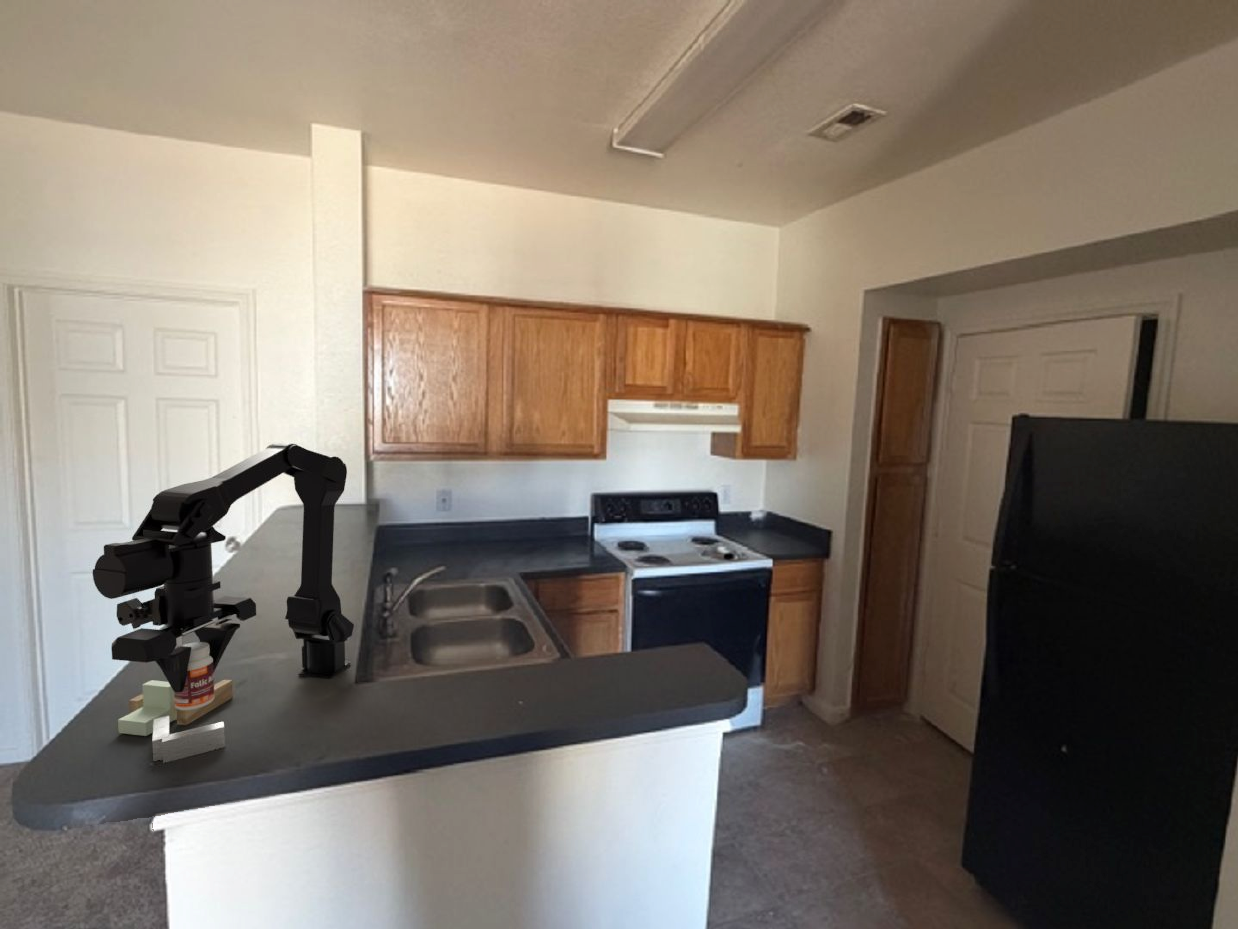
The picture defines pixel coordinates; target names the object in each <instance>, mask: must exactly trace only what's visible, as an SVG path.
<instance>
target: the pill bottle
mask: <svg viewBox="0 0 1238 929" xmlns="http://www.w3.org/2000/svg"><path fill="white" fill-rule="evenodd" d="M183 646H186V647H191V653H190V659H189V664H188V670H187V676H186V681H185V685H184V688H183V691H182V692H180V693H178V692H174V702H175V707H176V708H177V709H179V710H192V709H197V708H200V707H203V706H205V705H208V704H209V703H211V702H212V701H213V700H214V685H215V681H214V680H215V677H214V676H215V675H214V673H215V671H214V672H213V658H212V657H211V656H210V655H209V654H210V647H209V644H208V643H206V642H200V641H196V642H189V643H184V644H183Z"/></svg>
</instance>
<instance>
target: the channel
mask: <svg viewBox="0 0 1238 929" xmlns="http://www.w3.org/2000/svg"><path fill="white" fill-rule="evenodd" d="M166 682H168V680H167V681H166ZM233 691H234V690H233V680H232V679H223V680H222V679H221V680H220V681H219V682H217V683H214V700H213V701H212V702H211V703H209V704H208V705H205V706H203V707H200V708H197V709H192V710H179V709H177V719H176V720H177V725H180V726H182V725H183V726H187V725H189V724H190V723H192V722H194V721H195V720H197V719H199V718H201V717H203V716H205V715H206V714H207V713H209V712H212V710H215V709H216V708H218V707H219V706H221V705H223V704H225V703H227V702H228V701H229V700H232V699H233V697H234V696H233V694H234V693H233ZM128 705H129V714H130V713H132V712H134V711H136V710H138V709H140V708H142V707H143V693H141V694H139V695H136V696H135V697H133V698H131V699H129V700H128Z"/></svg>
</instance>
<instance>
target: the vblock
mask: <svg viewBox="0 0 1238 929" xmlns="http://www.w3.org/2000/svg"><path fill="white" fill-rule="evenodd" d="M170 723H171V722H170V719H169V716H166V717H161V718H157V719H154V724H153V732H152V738H151V739H152V740H151V741H152V760H153V761H156V760H160V761H162V763H163V764H166V763H170V762H174V761H177V760H181V759H185V758H188V757H191V756H197V755H200V754H203V753H208V752H211V751H215V749H216V750H219V748H220V749H223V748H225V747H226V741H225V740H226V739H225V736H226V735H225V723H224V721H221V722H220V721H219V722H216V723H212V724H207V725H204V726H203V725H202V726H199V727H195V728H190V729H186V730H182V731H179V732H175V733H174V732H172V733H171V727H170V726H171V724H170ZM153 761H152V762H153ZM156 762H157V761H156ZM165 762H166V763H165Z"/></svg>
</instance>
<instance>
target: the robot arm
mask: <svg viewBox="0 0 1238 929" xmlns="http://www.w3.org/2000/svg"><path fill="white" fill-rule="evenodd" d="M347 469H348V468H347V464H346V463H345V462H343V460H342V458H340V457H338V456H332V455H325V454H321V453H318V452H315V451H313V450H309V449H307V448H305V447H302V446H300V445H298V444H297V443H287V442H286V443H283V442H282V443H281V442H275V443H272V444H269V445H268V446H267V447H266V448H265V449H263V450H261V451H259V452H257V453H255V454H254V455H252V456H250V457H248V458H246V459H244V460H242V461H240V462H238V463H236V464H234V465H233V466H231V467H229V468H227V469H225V470H223V471H221V472H219V473H218V474H215V475H214V476H212V477H209V478H206V479H203V480H198V481H193V482H186V483H183V484H179V485H177V486H174V487H171V488H167V489H164V490H162V491H161V492H159V493H157V494H156V495H155V496H154V497H153V499H152V504H151V506H150V510H148V512H147V514H146V515H145V517H144V519H143V521H142V522H141V523H140V525H139V526H138V528H137V530H136V531H135V532H134V534H133V535H132V537H131V541H126V542H111V543H108V544H104V545H103V554H102V555H100V556H99V558H98V559H97V560H96V562H95V566H94V569H92V579H93V583H94V585H95V587H96V589H97V591H98V592H99V593H100V594H101V596H103V597H105V598H107V599H108V600H110V599H111V600H113V599H119V598H122V597H125V596H128V595H132V594H136V593H139V592H144V591H146V590H151V589H155V591H154V598H153V599H149V600H146V601H143V602H141V600H140V599H138V598H137V597H134V598H131V599H128V600H125V601H123V602H120V603H119V602H118V603H117V604H116V618H117V621H118V623H119V625H120V626H123V627H124V626H128V625H131V627H132V629H133V631H130V632H128V633H126V634H122V635H121V636H118V637H116V638H115V639H114V640H113V642H112V643H111V646H110V647H111V660H113V661H124V662H125V661H127V662H136V663H151V662H155V663H156V664H157V666H158V667H159V668H160V670H161V671H162V674H163V675H164V677H165V679H166V680H167V681H168V682H169V684H170V686H171V687H172V689H173V691H174V692H178V693H180V692H182V691H183V688H184V685H185V681H186V676H187V670H188V664H189V659H190V653H191V647H186V646H183V645H184V644H183V642H184V641H183V638H184V637H185V636H186V635H189V634H191V633H194V634H195V636H196V637H197V638H198V640H199V642H206V643H208V644H209V647H210V654H209V655H210V656H211V657H212V658H213V672H214V673H215V671H216V668H217V667H218V665H219V663H220V661H221V659H222V657H223V655H224V653H225V650H226V649H227V647H228V646H229V643H230V642H231V640H232V638H233V636H234V635H235V632H237V630H238V629H240V628H241V623H234V622H233V619H232V617H231V616H234V615H235V617H236V619H238V620H239V621H241V622H245V621H246V620H248V619H251V618H254V617H255V616H257V603H255V601H254V600H253V599H252V597H242V596H241V597H240V596H229V595H225V596H222V597H220V598H217V599H214V595H215V593H214V592H215V591H217V590H219V589H221V581H220V580H214V575H213V572H214V571H213V555H212V554H213V553H212V544H215V543H219V542H223V541H226V539H227V537H226V535H224V534H223V533H221V532H219V531H217V530H216V529H215V527H214V526H215V525H216V524H217V523H218V522H219V521H221V520H222V519H223V518H224V517H225V516H226V515H228V513H229V510H230V508H231V507H232V505H233V504H234V503H235V502H237V501H238V500H239V499H242V498H243V497H244V496H246V495H248V494H249V493H251V492H253V491H255V490H256V489H258V488H260V487H261V486H263V485H265V484H267V483H268V482H270V481H272V480H273V479H275V478H277V477H278V476H280V475H282V474H285V475H286V476H289V477H292V478H293V484H294V490H295V492H296V494H297V496H298V498H299V500H300V501H301V503H302V505H303V515H302V516H303V518H302V519H303V521H302V546H301V571H300V572H301V576H300V577H301V578H300V586H299V587H298V589H297V591H296V592H295V594H294V595H290V596H287V598H286V615H285V617H284V618H285V620H287V623H288V628H290V629H291V630H292V631H293V632H292V633H293V635H294V637H295V638H296V640H302V642H303V644H302V646H301V666H302V669H301V670H300V671H298V672H297V673H298V674H297V675H298V676H302V677H314V678H323V679H326V678H327V679H330V678H331V679H332V678H333V677H335V675H337V674H338V673H340V672H341V671H343V670H344V669H346V668H347V667H349V666H350V665H351V661H350V660H346V641H348V638H351V637H352V635H353V631H354V626H355V625H354V623H353V622H351V620H350V619H348V617H346V616H345V615H344V614H343V613H342V606H341V603H342V602H341V598H340V597H339V595H338V593H337V591H336V589H335V587H334V585H333V562H334V561H333V559H334V558H333V557H334V556H333V555H334V554H333V553H334V533H335V532H334V530H335V528H334V527H335V505H336V504H337V503H338V501H339V499H340V497H342V495H343V494H344V491H345V488H346V481H347V476H348V472H347V471H348V470H347ZM164 529H165V530H164ZM148 623H152V626H157V627H158V626H163V625H164V626H166V627H165V628H162V629H156V628H144V627H143V628H142V627H141V626H143V625H145V624H148ZM140 627H141V628H140ZM135 629H136V630H135Z"/></svg>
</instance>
